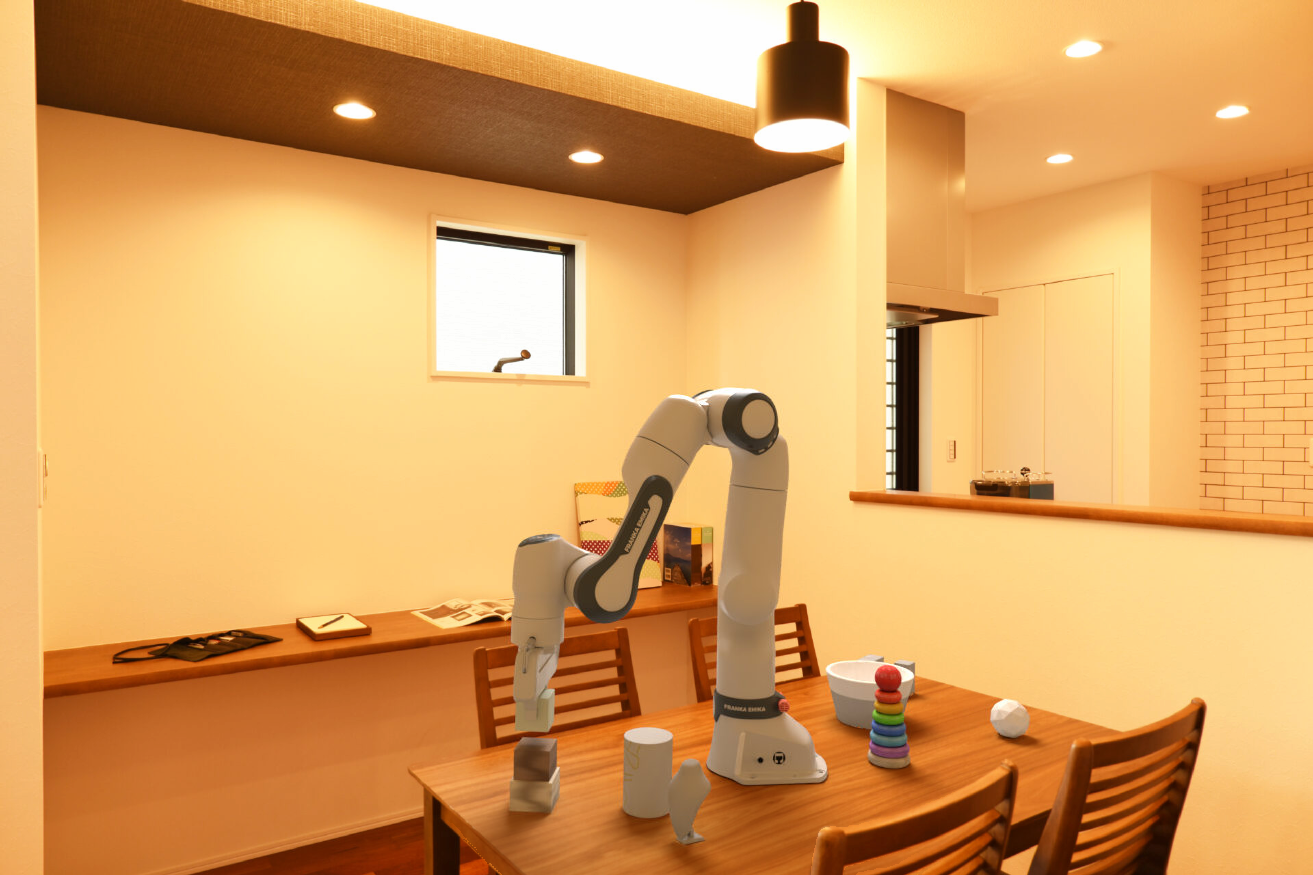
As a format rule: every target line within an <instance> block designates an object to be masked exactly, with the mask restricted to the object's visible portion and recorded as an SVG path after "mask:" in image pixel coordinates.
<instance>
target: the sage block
mask: <svg viewBox="0 0 1313 875" xmlns="http://www.w3.org/2000/svg"><path fill="white" fill-rule="evenodd" d="M555 691H556V690H555V688H547V689H543V691H542V692H541V694H540V695H539V697H538V700H537V708H538V713H537V714H538V716H537V718H536V720H535V721H526V720H525V707H524V703H523V702H516V701H515V720H514V721H515V723H514V726H515V727H514V730H515V731H519V732H536V733H537V732H540V733H541V732H542V733H549V731H550V730H551V728H552V726H553V724H554V722H555V699H556V698H555V697H556V696H555V693H556V692H555Z"/></svg>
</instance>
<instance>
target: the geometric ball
mask: <svg viewBox="0 0 1313 875" xmlns="http://www.w3.org/2000/svg"><path fill="white" fill-rule="evenodd" d="M1030 718H1031V716H1030V714H1029V712H1028V710H1027V709H1026V708H1025V706H1024V705H1022V704H1021V703H1020V702H1019V701H1018V700H1013V699H1009V698H1004V699H1002V700H1000V701H998V702H997V703H995V704H994V705H993V707H992V709H991V710H990V723H991V724H992V726H993V728H994V731H996V732H997V733H998V734H1000V735H1001V736H1004V737H1007V738H1011V739H1016V738H1018V737H1021V736H1022V735H1024V734H1026V733H1027V730H1028V728H1029V726H1030Z"/></svg>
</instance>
